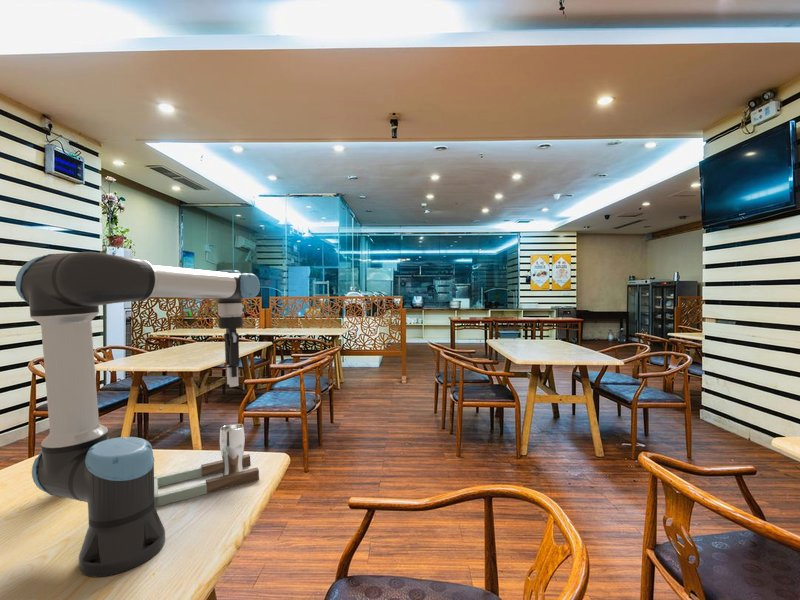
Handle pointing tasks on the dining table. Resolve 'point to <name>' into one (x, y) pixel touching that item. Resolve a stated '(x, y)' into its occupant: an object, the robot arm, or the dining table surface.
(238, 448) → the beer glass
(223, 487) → the slot rails
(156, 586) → the dining table surface
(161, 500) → the pale green u-shaped frame
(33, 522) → the dining table surface
